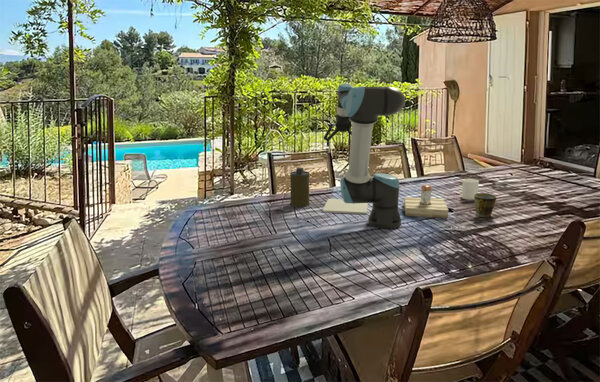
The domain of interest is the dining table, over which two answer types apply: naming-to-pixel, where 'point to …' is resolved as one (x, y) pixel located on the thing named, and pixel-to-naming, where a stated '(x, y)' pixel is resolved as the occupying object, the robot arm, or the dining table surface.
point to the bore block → (425, 208)
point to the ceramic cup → (484, 204)
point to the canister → (299, 188)
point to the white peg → (425, 195)
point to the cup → (469, 188)
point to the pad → (345, 207)
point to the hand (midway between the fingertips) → (341, 152)
